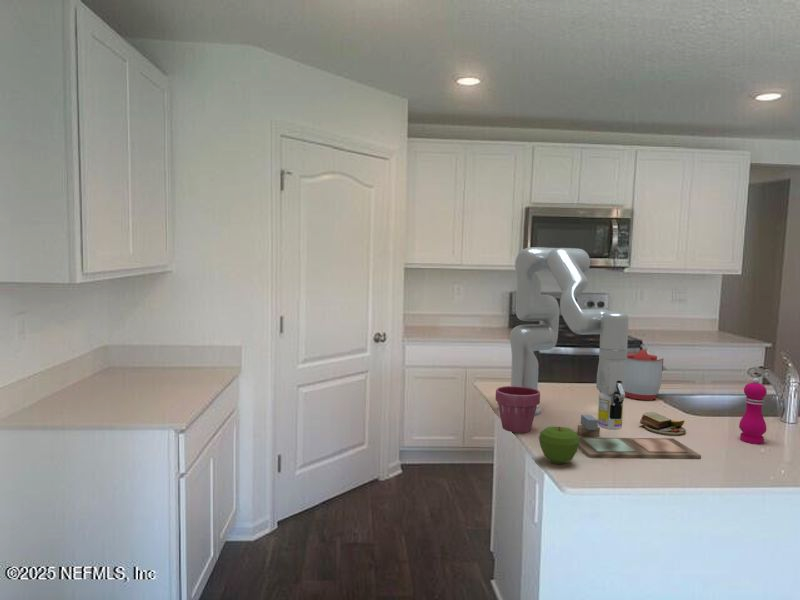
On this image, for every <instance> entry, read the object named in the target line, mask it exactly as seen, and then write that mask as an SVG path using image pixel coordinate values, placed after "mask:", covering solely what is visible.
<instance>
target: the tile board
mask: <svg viewBox="0 0 800 600" xmlns="http://www.w3.org/2000/svg"><path fill="white" fill-rule="evenodd" d="M578 437H579V440H580V441H579V445H578V448H579V450H580V451H581V452H582V453H584V454H585V455H586V456H587V457H588V458H590V459H679V460H680V459H685V460H686V459H687V460H689V459H695V460H698V459H699V460H701V459H702V455H701V454H700V453H698V452H696V451H695V450H693V449H691V448H689V447H688V446H687V445H685V444H683V443H681V442H680V441H678V440H677V439H675V438H670V437H669V438H667V437H666V438H665V437H663V438H662V437H661V438H659V437H581V436H578Z"/></svg>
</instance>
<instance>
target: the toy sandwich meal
mask: <svg viewBox="0 0 800 600" xmlns="http://www.w3.org/2000/svg"><path fill="white" fill-rule="evenodd" d="M639 424H641V425H643V426H644V428H645V429H646V430H647V429H648V431H650V432H651V431H652V433H654V432H655V434H658V433H659V434H658V435H663V434H664V435H665V436H681V434H682V435H683V434H685V433H686V432H687V430H686V428H684V427H683V426H684V424H685V420H680V421H679V420H673V419H671V418H670V417H666V416H665V415H661V414H659V413H658V412H653V411H650V412H644V413H643V414H642V416H641V419H640V421H639Z"/></svg>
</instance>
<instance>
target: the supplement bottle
mask: <svg viewBox="0 0 800 600" xmlns="http://www.w3.org/2000/svg"><path fill="white" fill-rule="evenodd" d="M613 394H618V393H613ZM616 398H617V397H614V399H616ZM610 405H612V402H611V395H606V394H604V393H603V392H600V391H599V393H598V411H597V420H598V427H599V428H600V429H605V430H609V431H617V430H621V429H622V427H623V415H624V413H623V410H624V404H623V405H622V417H621V419H611V418H610Z"/></svg>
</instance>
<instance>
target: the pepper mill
mask: <svg viewBox="0 0 800 600" xmlns="http://www.w3.org/2000/svg"><path fill="white" fill-rule="evenodd" d="M767 393H768V392H767V388H766V386H765V385H763V384H761V383H760V379H759V378H757V377H754V378H753V379H752V382H748V383H747V384H746V385H745V386H744V387H743V394H745V396H746V397H744V399H745V400H744V402H745V403H746V407H745V411H744V414H743V415H742V417H741V419H740V421H739V424H738V425H739V426H738V428H739V430H740V432H741V433H740V436H739V439H740V441H742V442H744V443H749V444H755V445H762V444H764V441H765V440H764V439H765V437H764V436H763V435H764V434H765V433H766V432H767V423H766V420H765V419H764V416H763V411H762V409H763V405H764V404H765V397H766V396H767Z"/></svg>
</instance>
